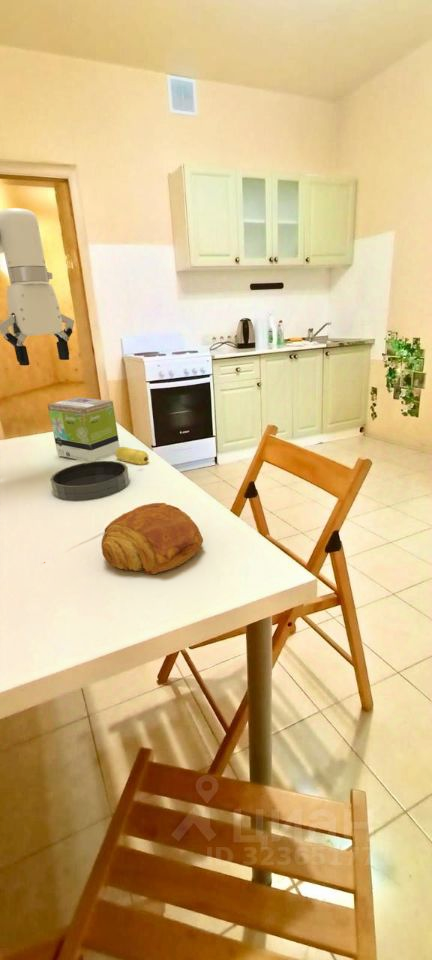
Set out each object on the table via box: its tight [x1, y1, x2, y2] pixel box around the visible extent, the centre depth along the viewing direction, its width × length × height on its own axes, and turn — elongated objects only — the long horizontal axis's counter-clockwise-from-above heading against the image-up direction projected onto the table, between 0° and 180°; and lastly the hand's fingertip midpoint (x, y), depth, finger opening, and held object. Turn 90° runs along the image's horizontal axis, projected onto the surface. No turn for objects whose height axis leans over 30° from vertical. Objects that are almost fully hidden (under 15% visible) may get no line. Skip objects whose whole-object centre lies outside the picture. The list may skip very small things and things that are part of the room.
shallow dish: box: [49, 460, 131, 502], centre depth 97 cm, size 16×16×4 cm
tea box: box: [47, 396, 120, 463], centre depth 119 cm, size 15×10×15 cm
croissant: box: [101, 502, 204, 575], centre depth 68 cm, size 14×16×8 cm
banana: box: [115, 446, 150, 466], centre depth 112 cm, size 11×4×4 cm
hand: (45, 362), depth 99 cm, fingers open, 9 cm apart
